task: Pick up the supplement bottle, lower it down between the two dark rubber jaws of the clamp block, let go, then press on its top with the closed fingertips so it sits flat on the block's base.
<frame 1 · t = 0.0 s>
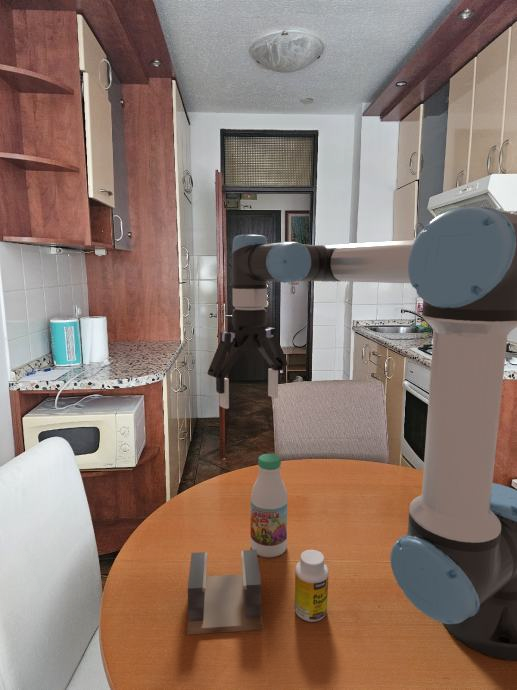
hand: (249, 401, 98), 28 cm above the table, tool pointing down, fingers open, 13 cm apart
milk bottle: (268, 547, 91), on the table
supplement bottle: (310, 611, 74), on the table
clamp block: (224, 604, 75), on the table
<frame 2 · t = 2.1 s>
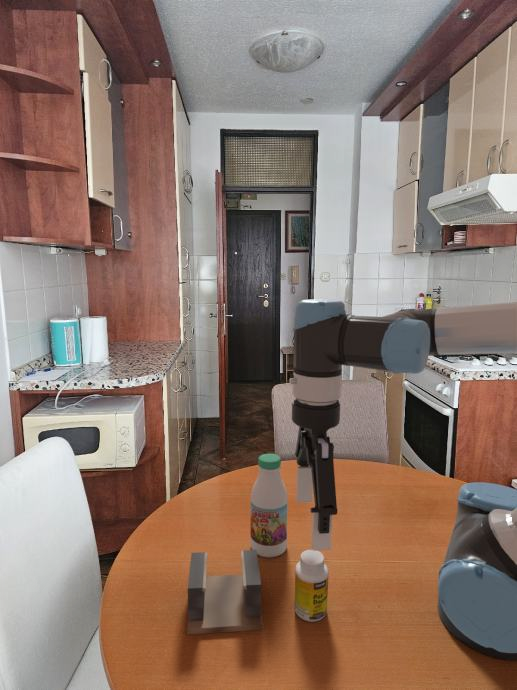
hand: (311, 523, 72), 16 cm above the table, tool pointing down, fingers open, 13 cm apart
nothing on the table moved.
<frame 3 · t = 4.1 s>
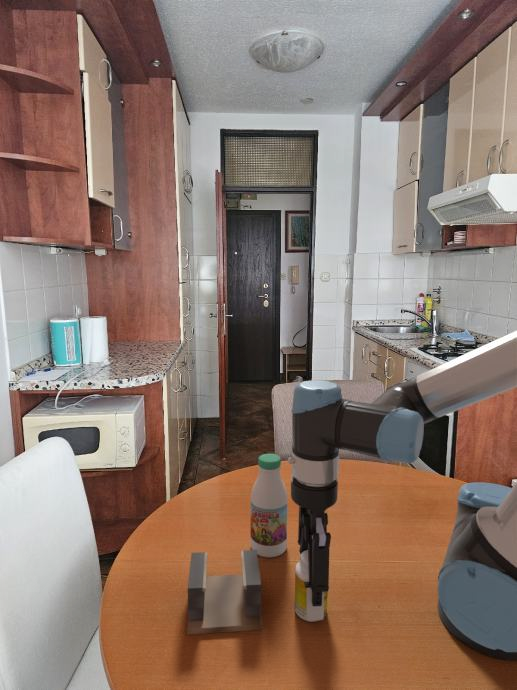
hand: (310, 603, 74), 1 cm above the table, tool pointing down, fingers closed on supplement bottle, 6 cm apart
supplement bottle: (310, 611, 74), on the table, touching gripper
everything else where it was.
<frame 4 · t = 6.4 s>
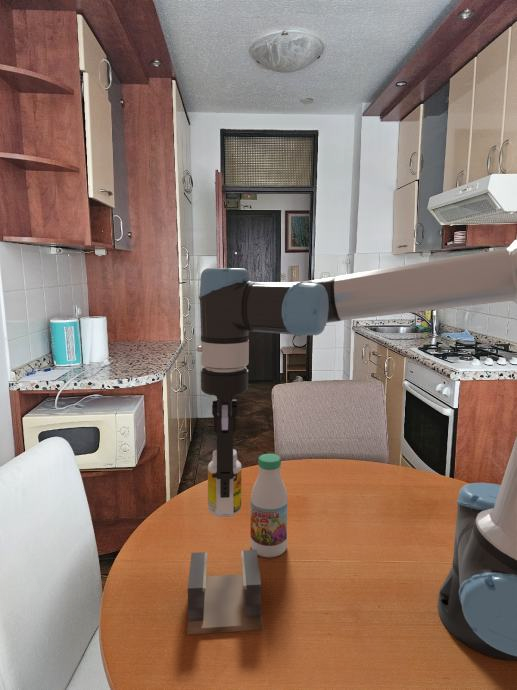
hand: (224, 502, 72), 19 cm above the table, tool pointing down, fingers closed on supplement bottle, 6 cm apart
supplement bottle: (224, 510, 73), point 18 cm above the table, touching gripper
everything else where it was.
when the fingers open (3 cm above the table, at t = 8.8 s): supplement bottle stays where it is, resting on clamp block.
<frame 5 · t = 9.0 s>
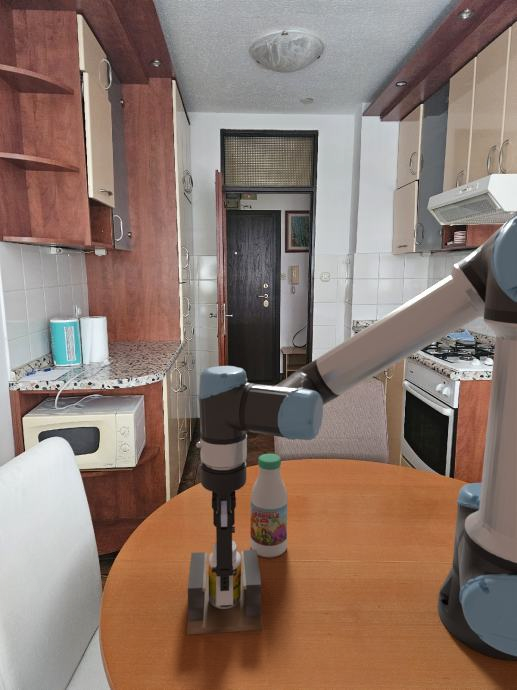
hand: (224, 585, 75), 4 cm above the table, tool pointing down, fingers open, 8 cm apart
supplement bottle: (224, 599, 75), point 1 cm above the table, touching clamp block
everything else where it was.
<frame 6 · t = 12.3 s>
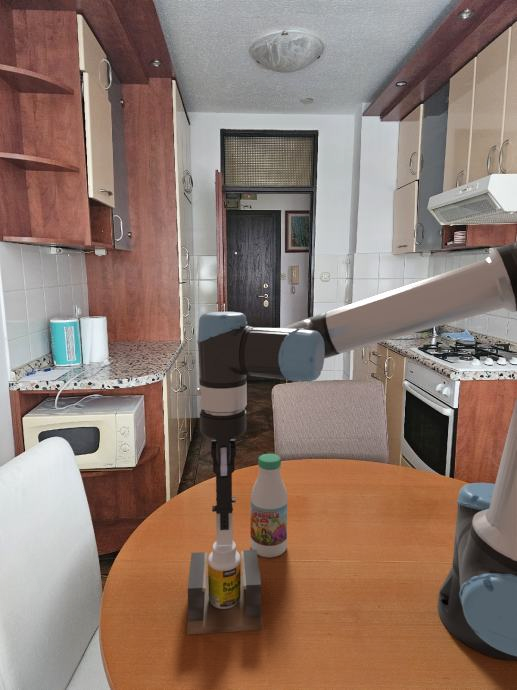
hand: (224, 542, 73), 12 cm above the table, tool pointing down, fingers closed
nothing on the table moved.
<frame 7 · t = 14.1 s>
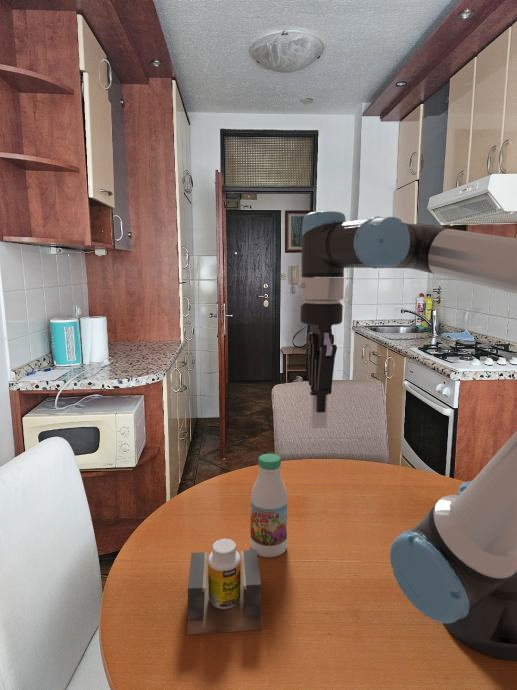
hand: (318, 426, 82), 28 cm above the table, tool pointing down, fingers closed
nothing on the table moved.
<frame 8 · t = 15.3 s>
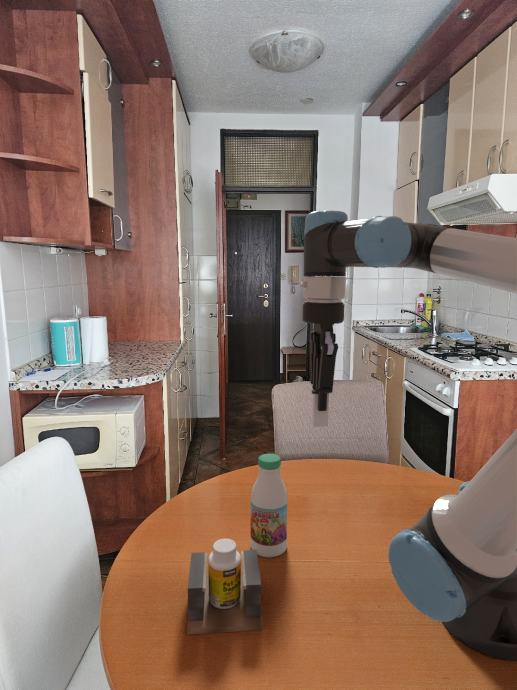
hand: (319, 425, 82), 28 cm above the table, tool pointing down, fingers closed
nothing on the table moved.
at the end: supplement bottle 0.0 cm off-centre on the clamp block, point 0.8 cm above the clamp block's base; supplement bottle tilted 0°; the gripper is holding nothing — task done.
